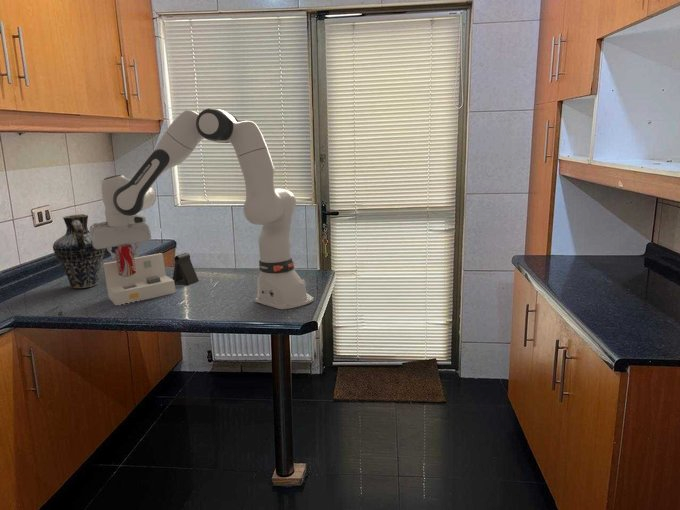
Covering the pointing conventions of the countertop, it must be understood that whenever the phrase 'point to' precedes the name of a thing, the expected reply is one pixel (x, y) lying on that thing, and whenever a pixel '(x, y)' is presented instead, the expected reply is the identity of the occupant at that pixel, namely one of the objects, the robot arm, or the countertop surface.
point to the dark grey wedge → (184, 270)
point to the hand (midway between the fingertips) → (125, 256)
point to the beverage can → (125, 260)
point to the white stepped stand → (138, 280)
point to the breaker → (153, 279)
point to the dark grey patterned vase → (78, 253)
